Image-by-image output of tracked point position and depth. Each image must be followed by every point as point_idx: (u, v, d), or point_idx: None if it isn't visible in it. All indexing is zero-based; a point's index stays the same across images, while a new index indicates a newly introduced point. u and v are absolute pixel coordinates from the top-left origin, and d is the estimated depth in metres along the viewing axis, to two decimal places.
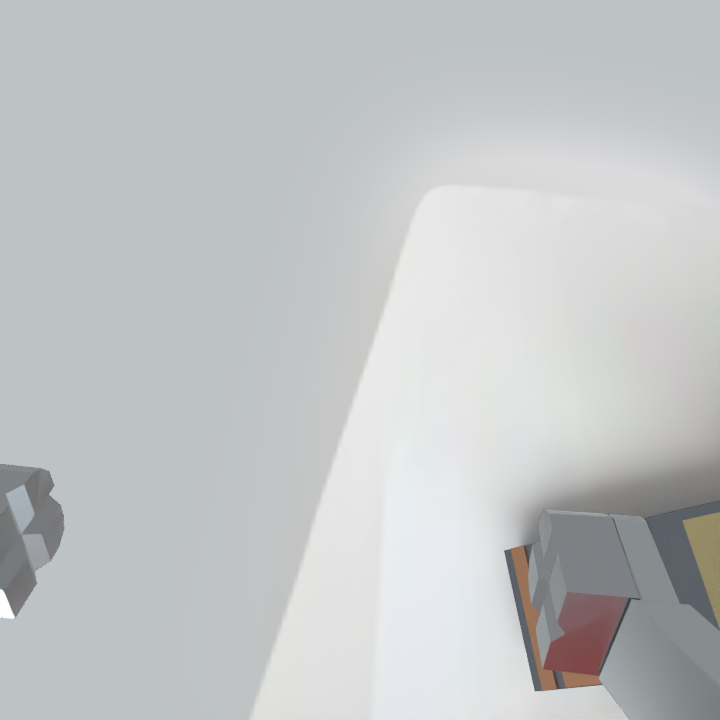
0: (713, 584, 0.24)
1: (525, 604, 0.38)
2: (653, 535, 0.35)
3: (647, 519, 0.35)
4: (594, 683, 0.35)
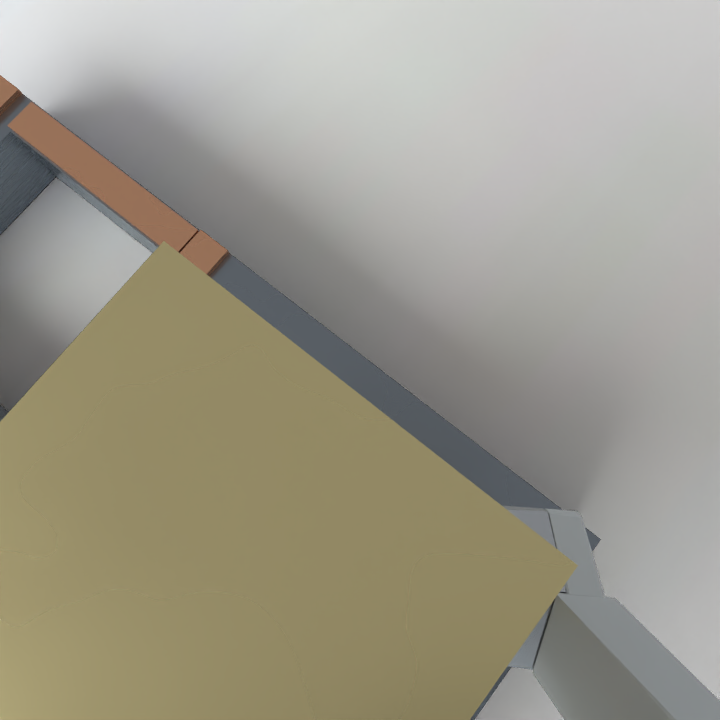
0: None
1: None
2: None
3: (229, 258, 0.16)
4: None
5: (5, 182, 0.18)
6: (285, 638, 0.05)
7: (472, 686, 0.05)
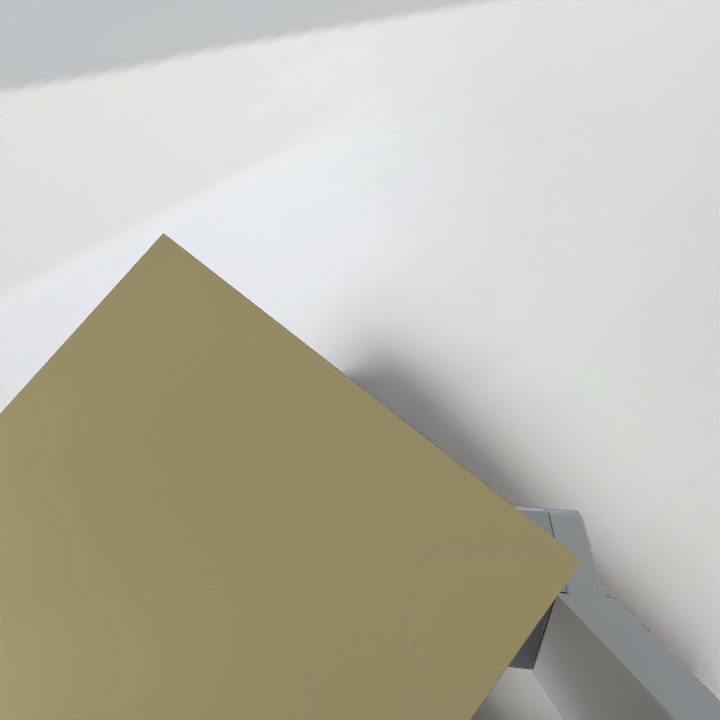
0: None
1: None
2: None
3: None
4: None
5: None
6: (286, 632, 0.05)
7: (475, 683, 0.05)
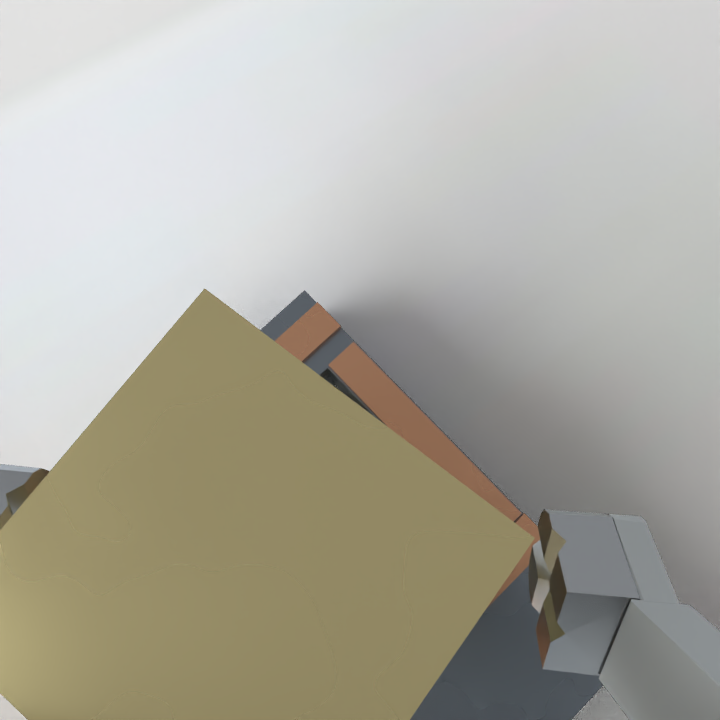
0: (71, 491, 0.07)
1: None
2: (525, 574, 0.15)
3: None
4: None
5: None
6: (310, 597, 0.06)
7: (455, 632, 0.06)
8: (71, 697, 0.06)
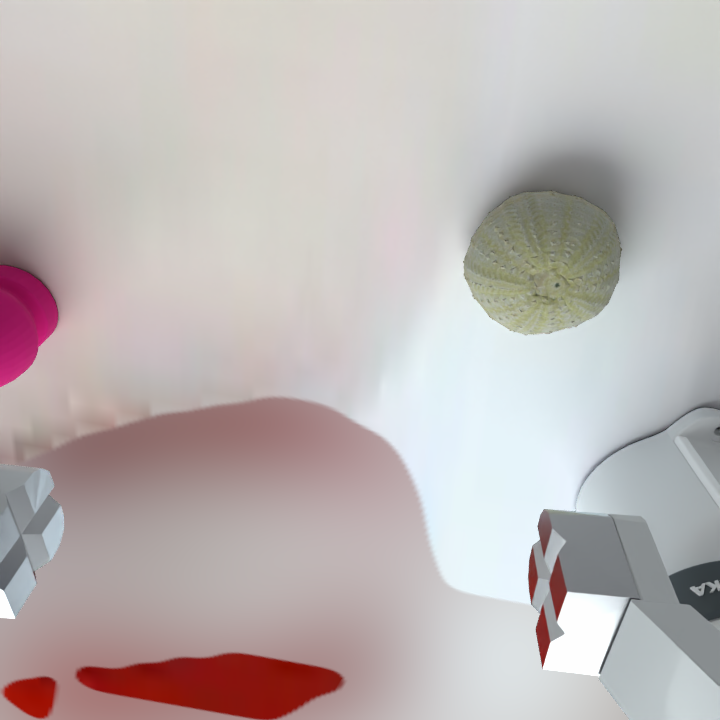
0: None
1: None
2: None
3: None
4: None
5: None
6: None
7: None
8: None
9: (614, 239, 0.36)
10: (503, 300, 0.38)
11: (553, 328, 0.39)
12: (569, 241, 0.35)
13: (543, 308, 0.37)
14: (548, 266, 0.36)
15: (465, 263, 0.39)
